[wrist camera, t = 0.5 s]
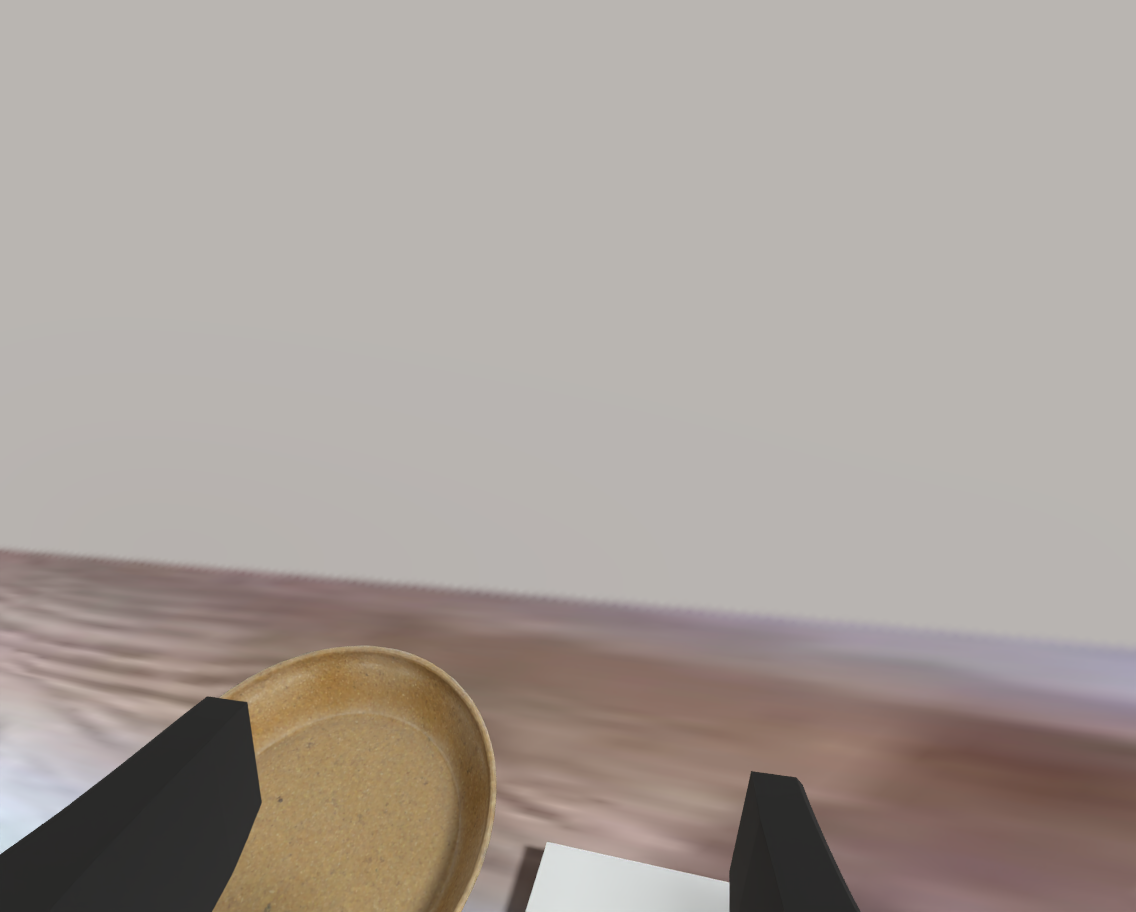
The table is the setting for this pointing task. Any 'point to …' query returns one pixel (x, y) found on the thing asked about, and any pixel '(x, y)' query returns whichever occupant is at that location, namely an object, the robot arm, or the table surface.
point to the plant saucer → (363, 786)
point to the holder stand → (619, 885)
